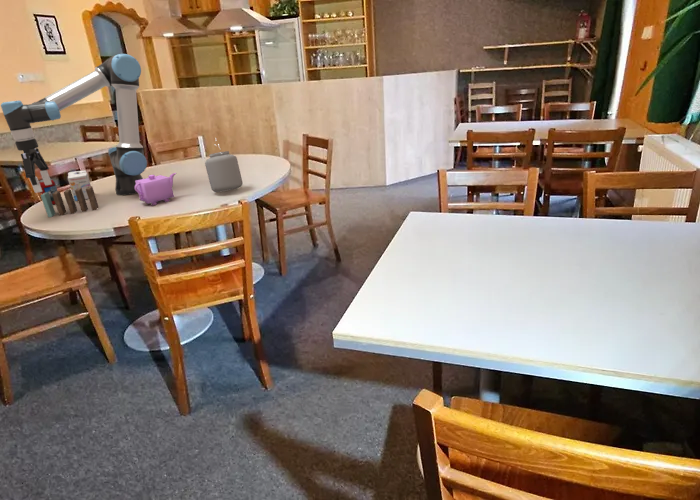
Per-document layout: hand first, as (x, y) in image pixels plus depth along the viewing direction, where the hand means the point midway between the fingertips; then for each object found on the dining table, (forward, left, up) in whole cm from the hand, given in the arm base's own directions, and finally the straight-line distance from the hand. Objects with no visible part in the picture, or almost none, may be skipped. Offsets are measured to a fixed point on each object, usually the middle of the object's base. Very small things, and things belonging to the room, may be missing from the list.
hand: (44, 188), depth 198 cm
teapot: (-47, +4, -13) cm, 48 cm away
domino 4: (-13, 0, -12) cm, 18 cm away
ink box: (-7, -28, -13) cm, 31 cm away
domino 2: (-4, 0, -12) cm, 13 cm away
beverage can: (+6, -24, -13) cm, 28 cm away
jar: (-77, +4, -13) cm, 78 cm away
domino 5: (-18, 0, -12) cm, 21 cm away
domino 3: (-9, 0, -12) cm, 15 cm away
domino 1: (+1, 0, -12) cm, 12 cm away
